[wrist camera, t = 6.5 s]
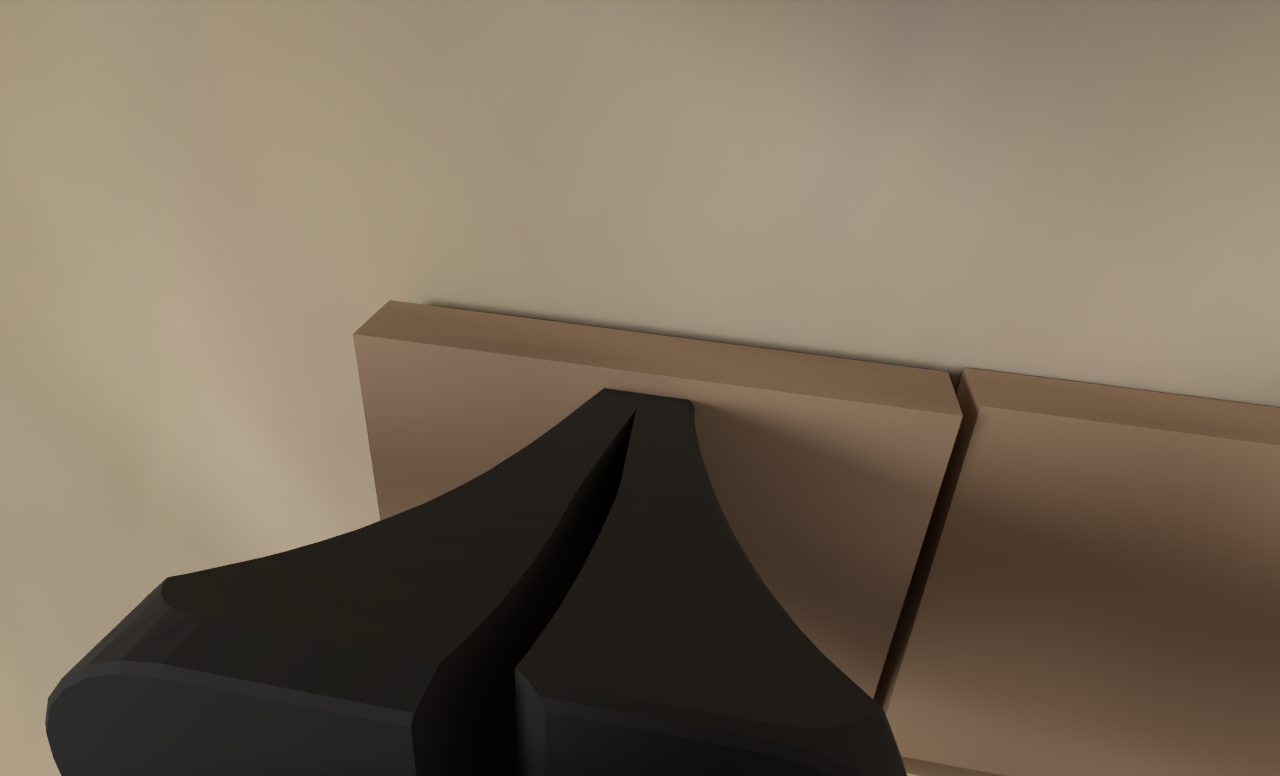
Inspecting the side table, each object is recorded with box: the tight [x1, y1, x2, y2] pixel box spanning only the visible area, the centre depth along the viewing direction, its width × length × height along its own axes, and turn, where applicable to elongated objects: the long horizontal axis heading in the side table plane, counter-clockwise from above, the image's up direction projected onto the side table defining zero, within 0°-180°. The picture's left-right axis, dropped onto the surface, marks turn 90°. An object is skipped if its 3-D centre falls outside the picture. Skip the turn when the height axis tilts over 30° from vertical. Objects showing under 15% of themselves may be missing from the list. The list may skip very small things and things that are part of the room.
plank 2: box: [873, 368, 1280, 776], centre depth 12 cm, size 7×8×1 cm
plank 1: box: [353, 300, 963, 699], centre depth 13 cm, size 7×8×1 cm
